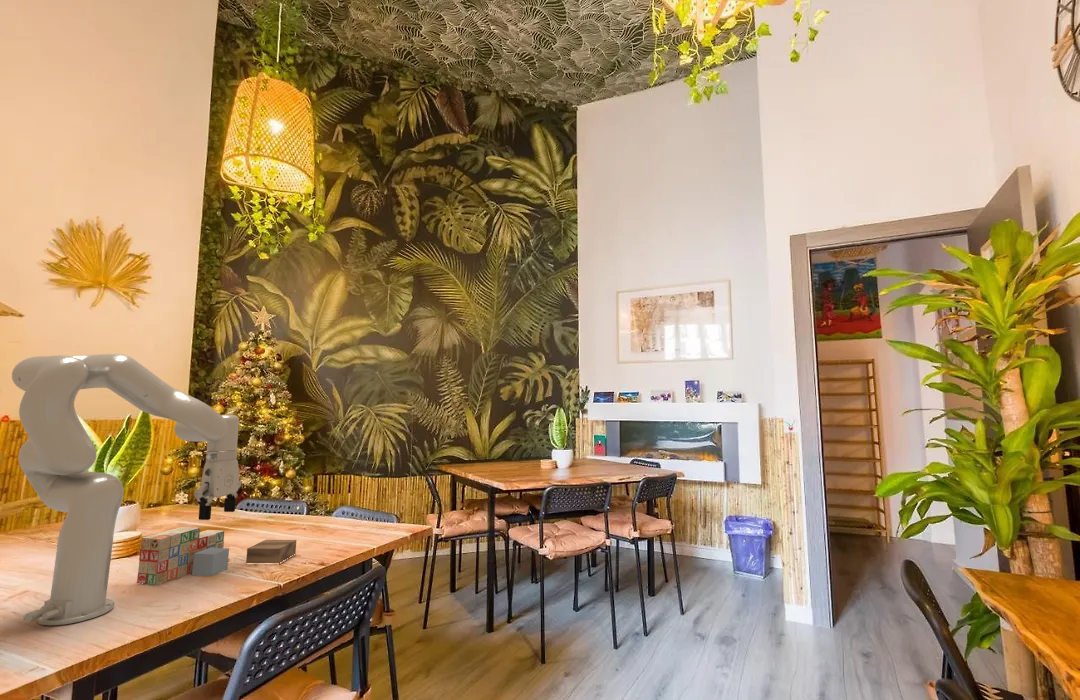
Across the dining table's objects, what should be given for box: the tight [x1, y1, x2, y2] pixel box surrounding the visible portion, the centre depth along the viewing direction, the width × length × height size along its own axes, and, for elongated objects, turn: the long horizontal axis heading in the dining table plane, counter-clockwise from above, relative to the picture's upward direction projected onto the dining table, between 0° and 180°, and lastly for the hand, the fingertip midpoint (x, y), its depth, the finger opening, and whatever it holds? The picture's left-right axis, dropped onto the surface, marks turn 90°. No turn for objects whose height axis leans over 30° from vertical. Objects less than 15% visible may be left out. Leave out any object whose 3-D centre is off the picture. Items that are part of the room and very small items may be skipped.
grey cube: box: [191, 547, 230, 577], centre depth 138 cm, size 6×6×6 cm
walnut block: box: [245, 539, 297, 564], centre depth 150 cm, size 10×10×5 cm
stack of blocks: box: [136, 526, 225, 586], centre depth 139 cm, size 21×6×12 cm, turn 169°
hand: (217, 515), depth 141 cm, fingers open, 9 cm apart
